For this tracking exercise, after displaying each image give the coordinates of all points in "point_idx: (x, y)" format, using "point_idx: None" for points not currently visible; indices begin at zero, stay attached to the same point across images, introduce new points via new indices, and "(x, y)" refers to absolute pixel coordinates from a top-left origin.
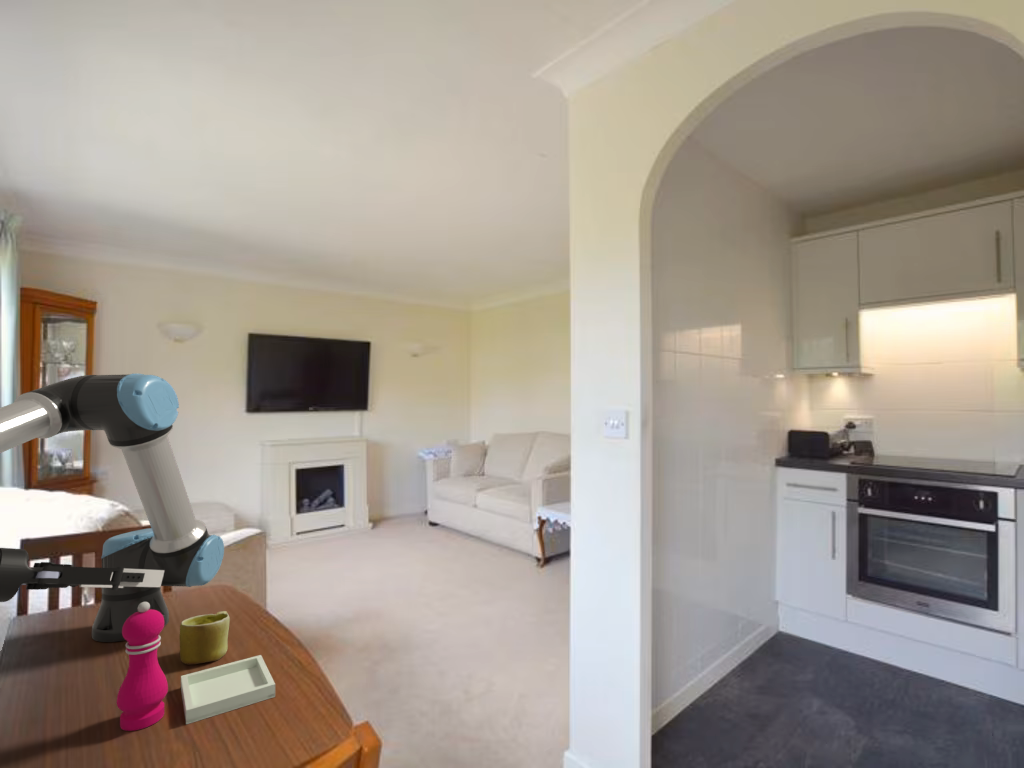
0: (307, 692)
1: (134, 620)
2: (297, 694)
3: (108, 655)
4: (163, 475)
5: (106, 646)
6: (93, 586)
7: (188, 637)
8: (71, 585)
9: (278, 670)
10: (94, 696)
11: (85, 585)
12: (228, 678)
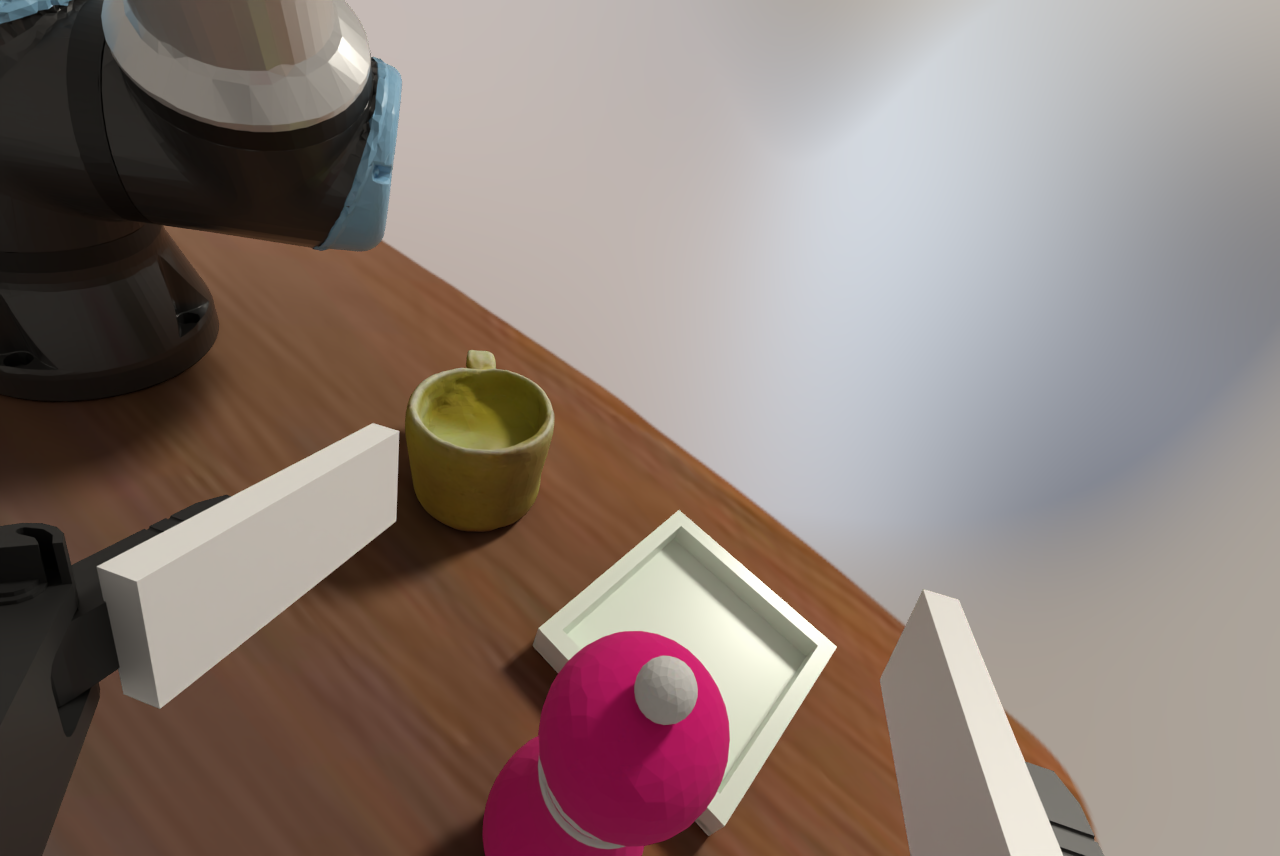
0: (872, 634)
1: (671, 791)
2: (858, 645)
3: (111, 474)
4: None
5: (61, 422)
6: (249, 631)
7: (473, 480)
8: (65, 781)
9: (727, 545)
10: (243, 724)
11: (190, 671)
12: (647, 597)
